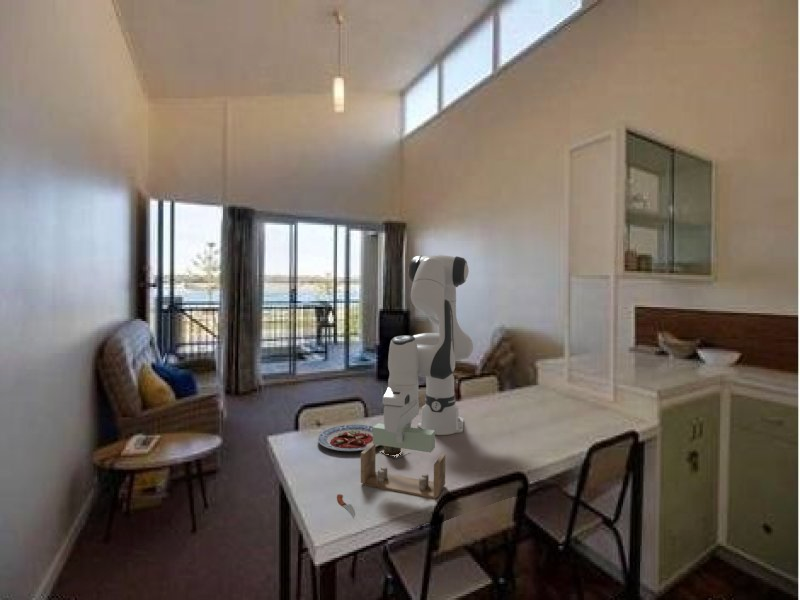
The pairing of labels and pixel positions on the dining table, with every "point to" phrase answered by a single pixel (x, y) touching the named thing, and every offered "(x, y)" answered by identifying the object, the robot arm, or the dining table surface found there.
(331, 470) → the dining table surface
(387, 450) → the condiment
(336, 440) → the ceramic plate
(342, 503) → the knife
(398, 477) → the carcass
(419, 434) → the pale green rectangular block
